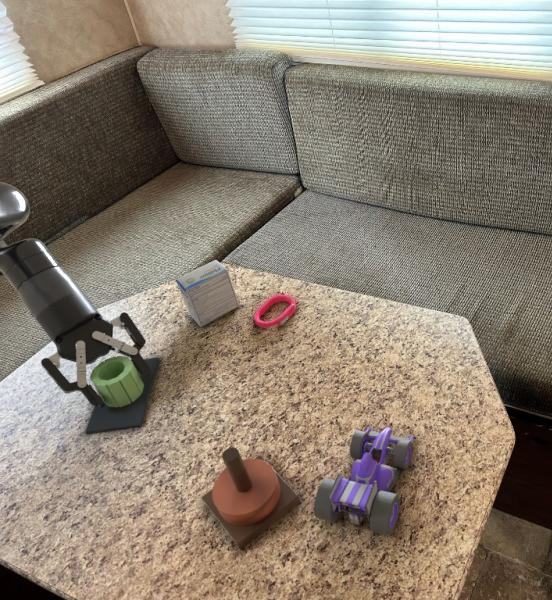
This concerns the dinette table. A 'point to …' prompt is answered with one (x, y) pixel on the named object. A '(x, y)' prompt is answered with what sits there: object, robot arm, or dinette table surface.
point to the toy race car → (367, 482)
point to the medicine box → (208, 292)
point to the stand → (248, 497)
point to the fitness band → (281, 318)
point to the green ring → (117, 381)
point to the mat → (124, 408)
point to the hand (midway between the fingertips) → (125, 391)
